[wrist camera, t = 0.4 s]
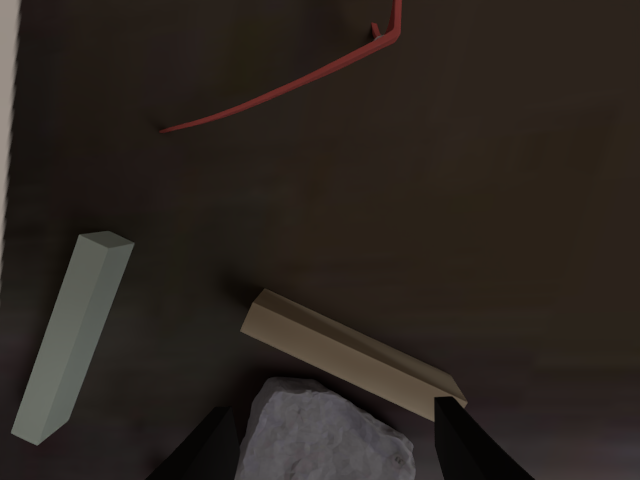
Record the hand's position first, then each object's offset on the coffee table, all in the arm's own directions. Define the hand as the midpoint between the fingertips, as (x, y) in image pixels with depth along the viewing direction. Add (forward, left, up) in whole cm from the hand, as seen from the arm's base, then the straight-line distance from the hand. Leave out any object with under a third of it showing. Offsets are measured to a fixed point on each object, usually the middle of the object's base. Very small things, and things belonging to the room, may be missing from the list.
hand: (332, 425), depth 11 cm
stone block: (-9, -3, -11) cm, 15 cm away
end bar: (-9, +16, -11) cm, 21 cm away
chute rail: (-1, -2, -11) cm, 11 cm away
